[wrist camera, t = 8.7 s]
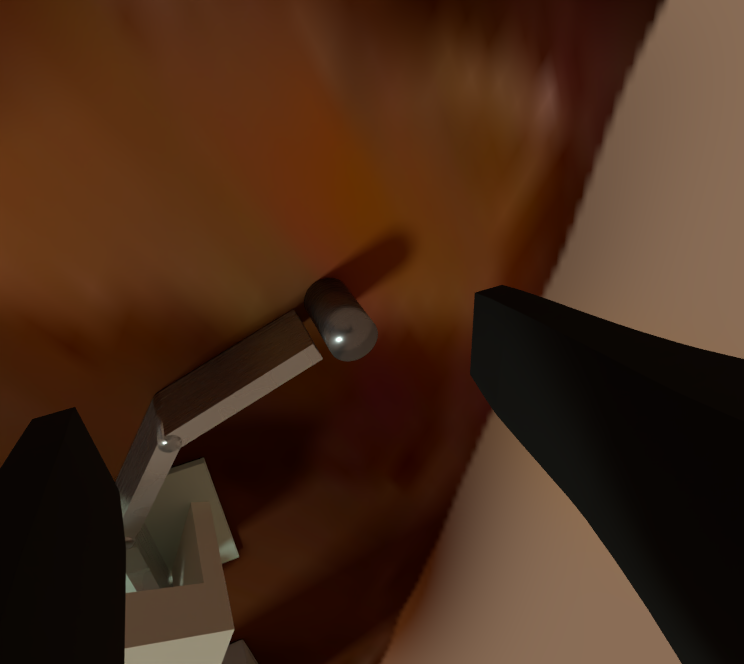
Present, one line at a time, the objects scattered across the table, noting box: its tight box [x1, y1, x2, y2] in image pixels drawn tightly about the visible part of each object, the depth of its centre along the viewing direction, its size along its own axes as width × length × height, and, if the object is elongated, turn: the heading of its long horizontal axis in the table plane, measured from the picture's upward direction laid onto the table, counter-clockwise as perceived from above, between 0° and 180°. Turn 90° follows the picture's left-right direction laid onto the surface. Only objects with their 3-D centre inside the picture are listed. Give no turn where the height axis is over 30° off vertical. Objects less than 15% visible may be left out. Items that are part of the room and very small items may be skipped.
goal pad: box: [126, 458, 239, 593], centre depth 24 cm, size 7×7×1 cm
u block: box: [124, 501, 234, 664], centre depth 21 cm, size 4×5×6 cm
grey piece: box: [115, 278, 378, 592], centre depth 21 cm, size 6×19×3 cm, turn 149°
